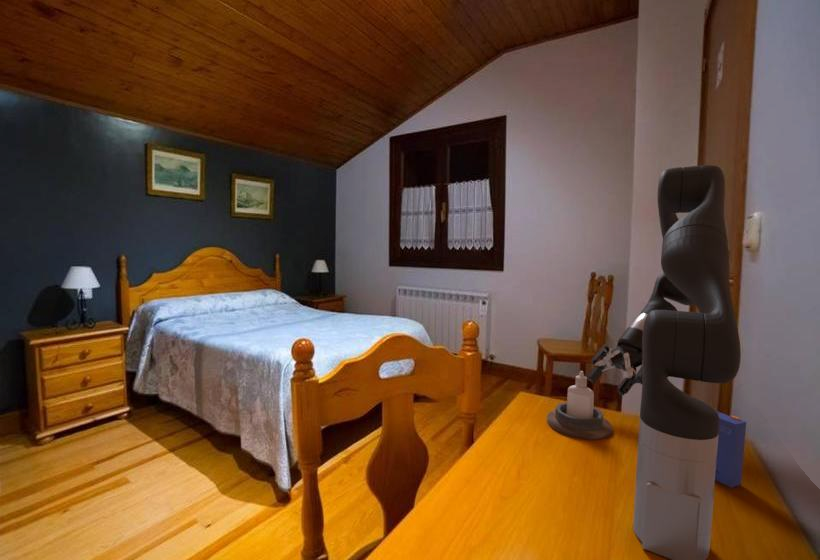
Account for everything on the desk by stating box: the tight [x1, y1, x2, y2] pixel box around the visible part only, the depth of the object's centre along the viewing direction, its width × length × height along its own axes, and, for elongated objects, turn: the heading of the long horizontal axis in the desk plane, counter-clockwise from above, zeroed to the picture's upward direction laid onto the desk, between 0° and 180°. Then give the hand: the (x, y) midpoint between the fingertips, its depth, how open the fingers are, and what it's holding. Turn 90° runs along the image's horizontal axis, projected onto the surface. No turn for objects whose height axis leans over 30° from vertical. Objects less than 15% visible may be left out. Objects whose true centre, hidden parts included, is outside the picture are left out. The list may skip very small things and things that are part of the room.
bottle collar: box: [546, 401, 613, 441], centre depth 93 cm, size 14×14×4 cm
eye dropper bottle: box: [566, 370, 595, 419], centre depth 93 cm, size 4×6×12 cm
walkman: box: [715, 410, 747, 489], centre depth 73 cm, size 8×3×12 cm, turn 20°
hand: (604, 386), depth 96 cm, fingers open, 8 cm apart
